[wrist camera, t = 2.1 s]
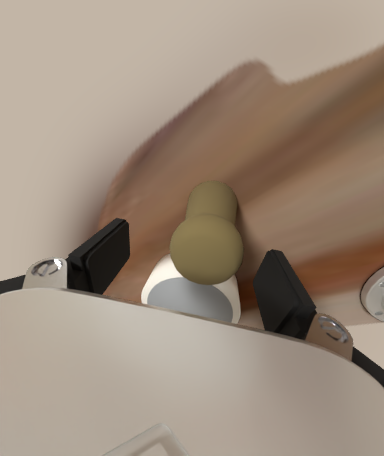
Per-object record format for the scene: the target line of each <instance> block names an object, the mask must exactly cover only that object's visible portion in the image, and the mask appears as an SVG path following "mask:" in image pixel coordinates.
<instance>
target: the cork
mask: <svg viewBox="0 0 384 456" xmlns="http://www.w3.org/2000/svg"><path fill="white" fill-rule="evenodd" d="M236 211H237V199H236V195H235V194H234V192H233V190H232V189H231V188H230V187H229V186H227V185H226V184H224V183H221V182H219V181H207V182H204V183H201V184H200V185H198V186H197V187H195V188H194V190H193V191H192V192H191V194H190V196H189V200H188V204H187V211H186V217H185V221H183V222H182V223H181V224H180V225H179V226H178V228H177V229H176V230H175V232H174V233H173V235H172V239H171V242H170V257H171V260H172V262H173V264H174V266H175V268H176V270H177V271H178V272H179V273H180V274H181V275H182V276H183V277H184V278H186V279H188V280H189V281H191V282H194V283H197V284H202V285H215V284H220V283H222V282H225V281H227V280H228V279H230V278H231V277H232V276H233V275H234V274H235V273H236V272H237V271H238V269H239V267H240V266H241V264H242V260H243V253H244V247H243V243H242V239H241V235H240V234H239V232H238V231H237V229H236V228H235V219H236Z"/></svg>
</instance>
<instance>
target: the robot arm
mask: <svg viewBox="0 0 384 456" xmlns="http://www.w3.org/2000/svg"><path fill="white" fill-rule="evenodd" d="M129 257H130V242H129V224H128V222H126V220H124V219H119V218H116V219H114V220H113V221H112V222H110V223H109V224H108V225H107V226H105V227H104V228H103V229H101V230H100V231H99V232H97V233H96V234H95V235H94V236H92V237H91V238H90V239H89V240H87V241H86V242H85V243H83V244H82V245H81V246H79V247H78V248H77V249H75V250H74V251H73V252H72V253H70V254H69V257H68V258H67V259H63V258H59V257H53V258H47V259H43V260H41V261H38V262H36V263H35V264H33V265H32V266H31V267H30V268H29V269H28V270H27V273H26V275H23V276H19V277H16V278H12V279H8V280H4V281H0V456H384V369H382V368H381V367H380V366H378V365H377V364H376V363H374V362H373V361H371V360H370V359H369V358H368V357H366V356H365V355H364V354H362V353H361V352H360V351H359V350H357V349H356V348H354V347H353V339H352V337H351V335H350V333H349V332H348V330H347V329H346V328H345V327H344V326H343V325H342V324H341V323H340V322H338V321H337V320H336V319H334V318H332V317H331V316H329V315H326V314H322V313H318V314H317V312H316V310H315V309H316V306H315V305H314V303H313V301H312V300H311V298H310V296H309V295H308V293H307V291H306V290H305V288H304V287H303V285H302V283H301V282H300V280H299V278H298V277H297V275H296V274H295V272H294V270H293V269H292V267H291V265H290V264H289V262H288V260H287V259H286V257H285V256H284V254H283V252H282V251H278V250H273V249H272V250H270V251H268V252H267V253H266V255H265V257H264V259H263V261H262V263H261V265H260V267H259V270H258V272H257V274H256V276H255V278H254V280H253V287H254V291H255V294H256V298H257V302H258V306H259V309H260V313H261V317H262V321H263V324H264V328H265V330H261V329H257V328H252V327H248V326H244V325H239V324H235V323H230V322H226V321H221V320H217V319H212V318H208V317H203V316H199V315H194V314H190V313H185V312H181V311H176V310H171V309H167V308H162V307H158V306H153V305H148V304H144V303H139V302H134V301H129V300H125V299H120V298H115V297H111V296H106V295H102V294H103V293H104V292H105V290H106V289H107V287H108V286H109V285H110V283H111V282H112V281H113V279H114V278H115V277H116V275H117V274H118V273H119V271H120V270H121V268H122V267H123V266H124V264H125V263H126V262H127V260H128V259H129ZM361 301H362V304H363V305H364V307H365V308H366V309H367V311H368V312H369V313H370V314H371V315H372V316H373V317H375V318H377V319H378V320H380V321H383V322H384V267H383V268H381V269H380V270H379V271H377V272H376V273H375V274H374V275H373V276H371V277H370V278H369V280H368V281H367V282H366V284H365V285H364V287H363V289H362V292H361Z"/></svg>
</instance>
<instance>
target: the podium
mask: <svg viewBox="0 0 384 456" xmlns="http://www.w3.org/2000/svg"><path fill="white" fill-rule="evenodd" d="M141 299H142V303H144V304H148V305H153V306H158V307H162V308H167V309H171V310H176V311H181V312H185V313H190V314H194V315H199V316H203V317H208V318H212V319H217V320H221V321H226V322H230V323H235V324H237V323H238V321H239V319H240V314H241V310H240V301H239V293H238V285H237V279H236V276H235V274H234V275H233V276H232V277H231V278H230V279H228V280H227V281H225V282H222V283H220V284H215V285H202V284H197V283H194V282H191V281H189V280H188V279H186V278H184V277H183V276H182V275H181V274H180V273H179V272H178V271H177V270H176V268H175V266H174V264H173V262H172V260H171V257H170V253H169V254H167V255H166V256H164V257H163V258H161V259H160V260H159V261H158V263H157V264H156V266H155V268H154V270H153V271H152V273H151V275H150V277H149V279H148V281H147V283H146V285H145V286H144V288H143V291H142V296H141Z"/></svg>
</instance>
